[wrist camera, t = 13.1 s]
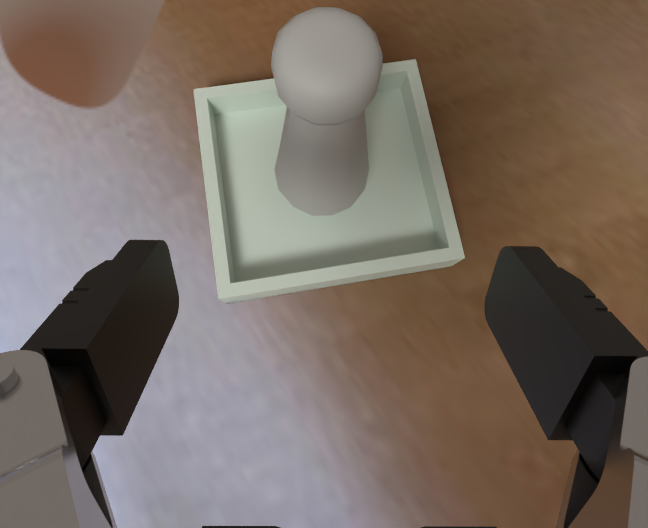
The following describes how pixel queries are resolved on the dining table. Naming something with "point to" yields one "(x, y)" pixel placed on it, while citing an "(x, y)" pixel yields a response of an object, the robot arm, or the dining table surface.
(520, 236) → the dining table surface
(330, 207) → the salt shaker
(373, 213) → the tray
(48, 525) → the robot arm
